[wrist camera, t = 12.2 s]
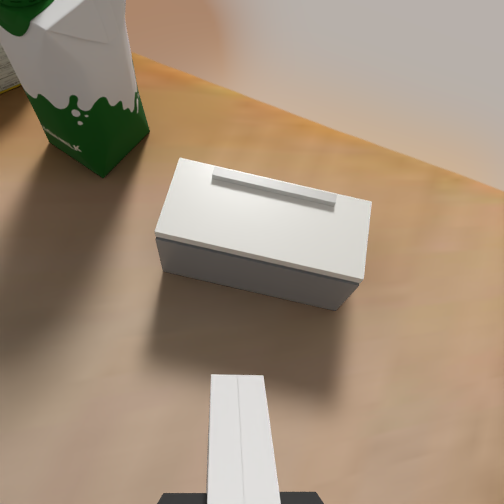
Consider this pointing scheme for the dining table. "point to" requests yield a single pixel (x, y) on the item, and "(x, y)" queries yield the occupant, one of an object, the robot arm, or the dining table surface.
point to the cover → (266, 220)
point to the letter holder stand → (253, 275)
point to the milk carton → (77, 75)
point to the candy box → (7, 73)
